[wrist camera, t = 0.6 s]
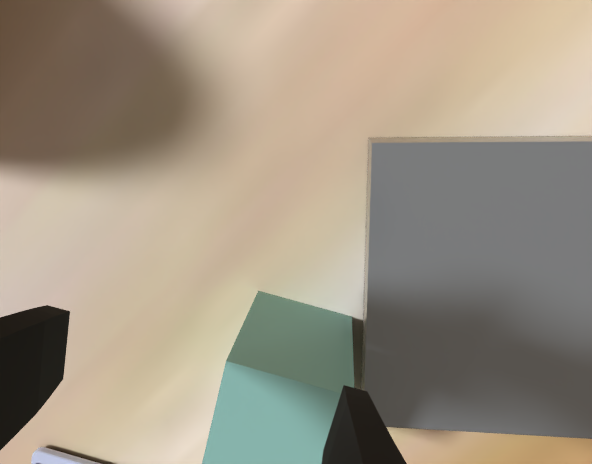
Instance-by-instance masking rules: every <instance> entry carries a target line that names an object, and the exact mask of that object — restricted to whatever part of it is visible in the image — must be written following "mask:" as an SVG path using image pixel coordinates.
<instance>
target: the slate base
mask: <svg viewBox="0 0 592 464" xmlns="http://www.w3.org/2000/svg"><path fill="white" fill-rule="evenodd" d="M361 390H364V391H367V392H368V393H369V395H370V397H371V399H372V401H373V403H374V405H375V407H376V409H377V411H378V413H379V415H380V417H381V419H382V420H383V422H384V424H385V426H386V427H397V428H414V429H432V430H449V431H466V432H484V433H501V434H518V435H536V436H553V437H570V438H588V439H592V136H520V137H394V138H368V171H367V207H366V242H365V277H364V313H363V348H362V383H361Z"/></svg>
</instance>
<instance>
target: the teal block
mask: <svg viewBox="0 0 592 464" xmlns="http://www.w3.org/2000/svg"><path fill="white" fill-rule="evenodd" d="M344 385H345V386H349V387H353V388H354V362H353V334H352V317H351V316H347V315H344V314H340V313H337V312H333V311H329V310H326V309H322V308H319V307H315V306H311V305H308V304H304V303H300V302H297V301H293V300H290V299H286V298H282V297H279V296H275V295H271V294H268V293H264V292H261V291H258V293H257V295H256V297H255V299H254V302H253V304H252V306H251V308H250V310H249V312H248V315H247V317H246V319H245V321H244V323H243V326H242V328H241V330H240V332H239V334H238V336H237V339H236V341H235V343H234V345H233V347H232V350H231V352H230V354H229V356H228V358H227V360H226V364H225V368H224V373H223V377H222V381H221V385H220V390H219V394H218V398H217V402H216V407H215V411H214V415H213V420H212V424H211V428H210V432H209V437H208V441H207V445H206V449H205V454H204V458H203V462H202V464H322V456H323V449H324V446H325V443H326V440H327V437H328V433H329V430H330V427H331V424H332V421H333V417H334V414H335V411H336V408H337V405H338V402H339V398H340V395H341V392H342V389H343V386H344Z"/></svg>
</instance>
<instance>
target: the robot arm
mask: <svg viewBox="0 0 592 464" xmlns="http://www.w3.org/2000/svg"><path fill="white" fill-rule="evenodd" d="M69 315H70V311H66V310H63V309H59V308H55V307H51V306H48V305H47V306H42V307H37V308H33V309H29V310H25V311H22V312H18V313H15V314H11V315H8V316H4V317H1V318H0V450H1V449H2V448H3V447H4V446H5V445H6V444H7V443H8V442H9V441H10V440H11V439H12V438H13V437H14V436H15V435H16V434H17V433H18V432H19V431H20V430H21V429H22V428H23V427H24V426H25V425H26V424H27V423H28V422H29V421H30V420H31V419H32V418H33V417H34V416H35V414H36V413H37V412H38V411H39V410H40V409H41V407H42V406H43V405H44V404H45V402H46V401H47V400H48V399H49V397H50V396H51V395H52V393H53V392H54V390H55V389H56V388H57V386H58V385H59V384H60V382H61V381H62V380H63V375H64V365H65V355H66V345H67V335H68V325H69ZM31 464H101V463H97V462H94V461H90V460H87V459H83V458H80V457H77V456H73V455H70V454H66V453H63V452H59V451H56V450H52V449H49V448H46V447H40V448H38V449H37V450H36V451H35V452H34V453H33V455H32V461H31ZM322 464H406V462H405V460H404V458H403V457H402V455H401V453H400V452H399V450H398V448H397V446H396V445H395V443H394V441H393V439H392V437H391V436H390V434H389V432H388V430H387V428H386V426H385V424H384V422H383V420H382V419H381V417H380V415H379V413H378V411H377V409H376V407H375V405H374V403H373V401H372V399H371V397H370V395H369V393H368V392H367V391H364V390H360V389H357V388H353V387H349V386H345V385H344V386H343V389H342V392H341V395H340V398H339V402H338V405H337V408H336V411H335V414H334V417H333V421H332V424H331V427H330V430H329V433H328V437H327V440H326V443H325V446H324V449H323V456H322Z"/></svg>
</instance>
